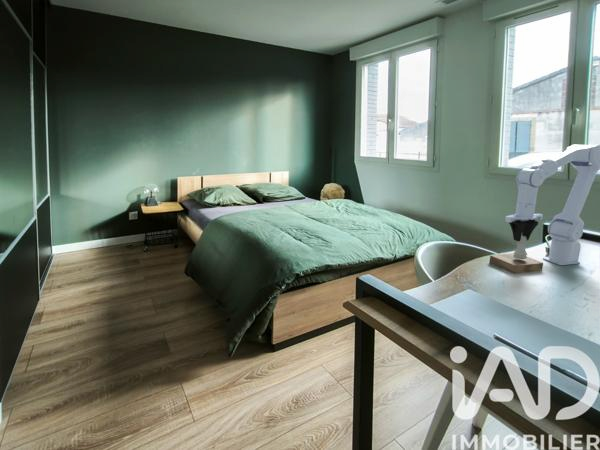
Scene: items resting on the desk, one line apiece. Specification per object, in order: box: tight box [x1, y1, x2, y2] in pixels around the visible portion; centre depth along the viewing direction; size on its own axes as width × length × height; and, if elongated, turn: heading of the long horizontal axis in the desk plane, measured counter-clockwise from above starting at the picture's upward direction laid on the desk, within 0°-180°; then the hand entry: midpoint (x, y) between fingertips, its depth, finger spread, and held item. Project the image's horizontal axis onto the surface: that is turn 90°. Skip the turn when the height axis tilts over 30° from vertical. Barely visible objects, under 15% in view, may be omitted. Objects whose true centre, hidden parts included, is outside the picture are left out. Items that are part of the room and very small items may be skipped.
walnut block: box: [489, 252, 544, 275], centre depth 135 cm, size 12×12×3 cm
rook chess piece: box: [513, 235, 528, 259], centre depth 133 cm, size 4×4×8 cm
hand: (520, 240), depth 133 cm, fingers closed on rook chess piece, 3 cm apart
